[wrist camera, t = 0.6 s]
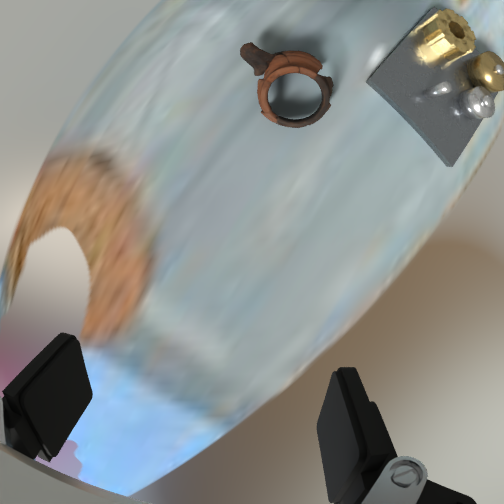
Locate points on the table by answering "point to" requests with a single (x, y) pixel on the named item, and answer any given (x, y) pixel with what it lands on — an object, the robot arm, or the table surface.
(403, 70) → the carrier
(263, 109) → the brown clawed ring bracket
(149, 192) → the table surface
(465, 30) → the planet gear
